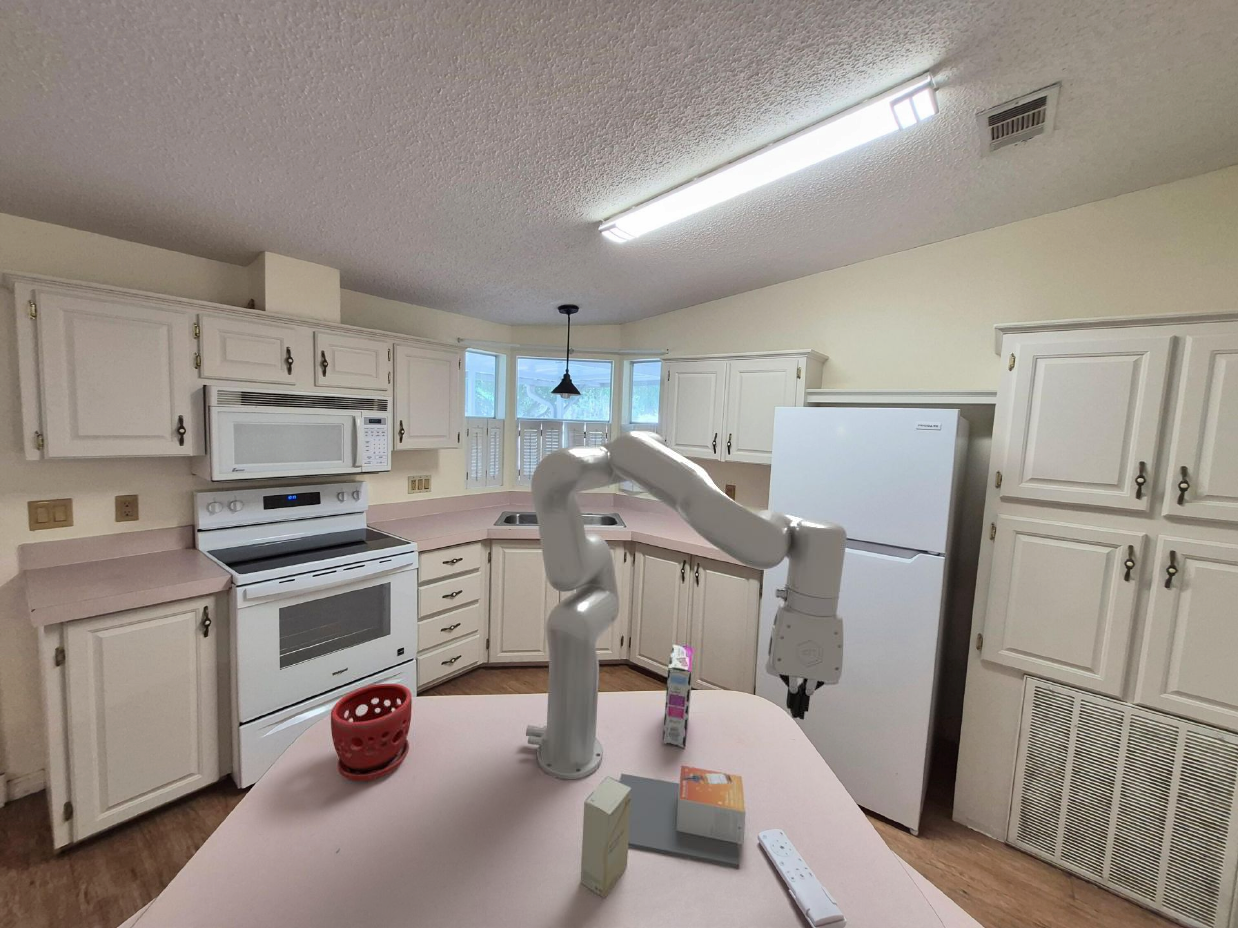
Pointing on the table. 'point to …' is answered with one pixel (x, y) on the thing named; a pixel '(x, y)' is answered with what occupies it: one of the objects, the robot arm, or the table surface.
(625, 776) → the mat
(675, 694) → the candy bar box
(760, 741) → the table surface
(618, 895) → the table surface
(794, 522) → the robot arm
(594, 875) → the skincare box
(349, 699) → the plant pot
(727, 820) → the small box
